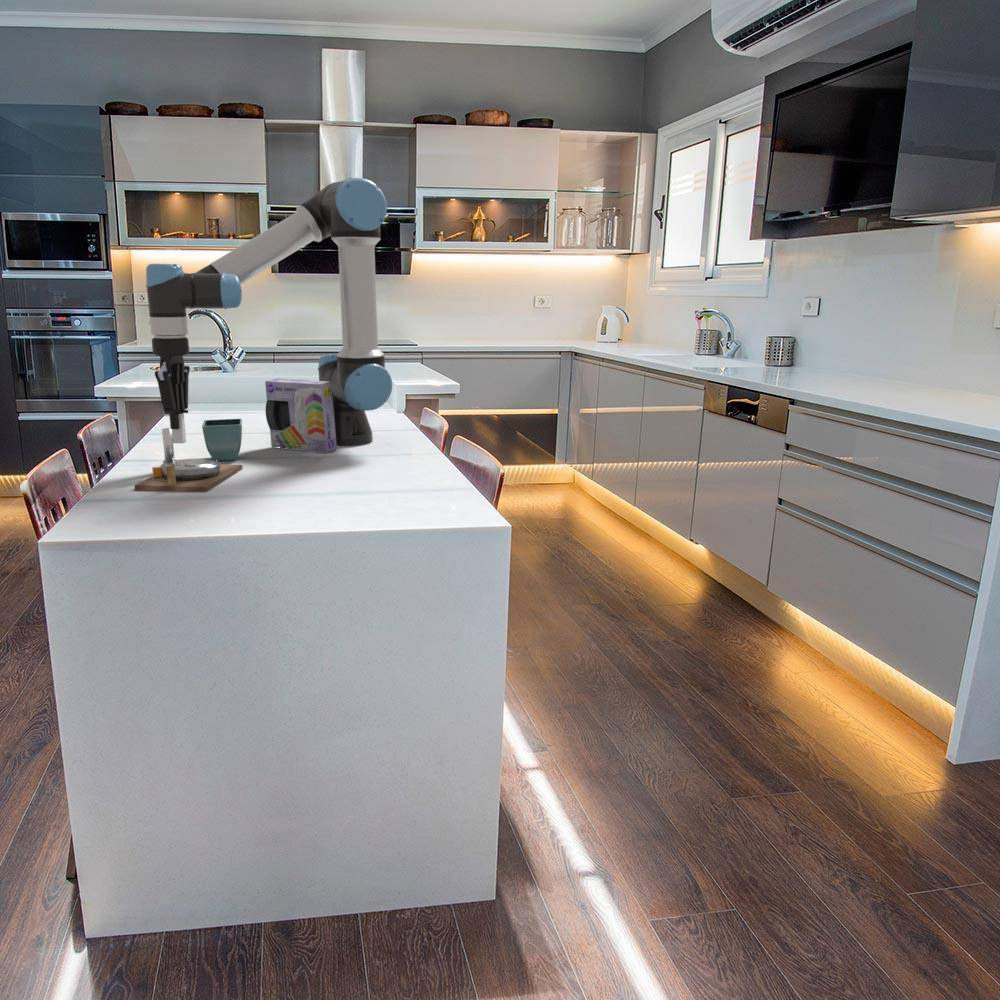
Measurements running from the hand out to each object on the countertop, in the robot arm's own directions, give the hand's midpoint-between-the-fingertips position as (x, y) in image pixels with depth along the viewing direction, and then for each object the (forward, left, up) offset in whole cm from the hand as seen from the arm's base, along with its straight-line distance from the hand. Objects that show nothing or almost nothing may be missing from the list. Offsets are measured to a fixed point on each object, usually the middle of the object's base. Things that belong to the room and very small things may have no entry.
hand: (179, 442), depth 191 cm
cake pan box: (-21, -24, -6) cm, 33 cm away
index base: (-7, +10, -6) cm, 13 cm away
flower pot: (-6, -11, -6) cm, 14 cm away
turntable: (-5, +10, -5) cm, 12 cm away
